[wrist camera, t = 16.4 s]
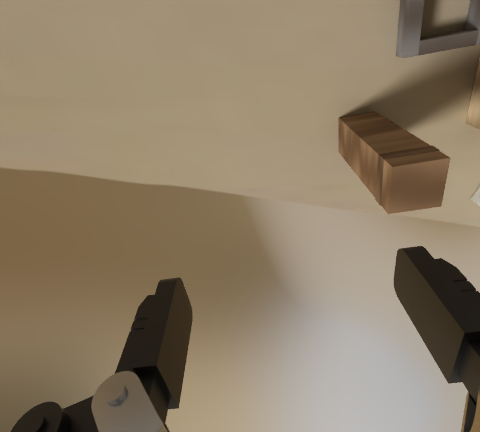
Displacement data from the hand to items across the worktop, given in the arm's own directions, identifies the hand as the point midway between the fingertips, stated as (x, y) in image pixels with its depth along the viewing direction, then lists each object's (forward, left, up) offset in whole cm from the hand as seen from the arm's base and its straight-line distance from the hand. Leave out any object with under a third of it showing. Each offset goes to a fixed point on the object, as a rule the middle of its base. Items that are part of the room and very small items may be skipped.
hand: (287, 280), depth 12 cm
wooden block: (+4, +11, -26) cm, 29 cm away
